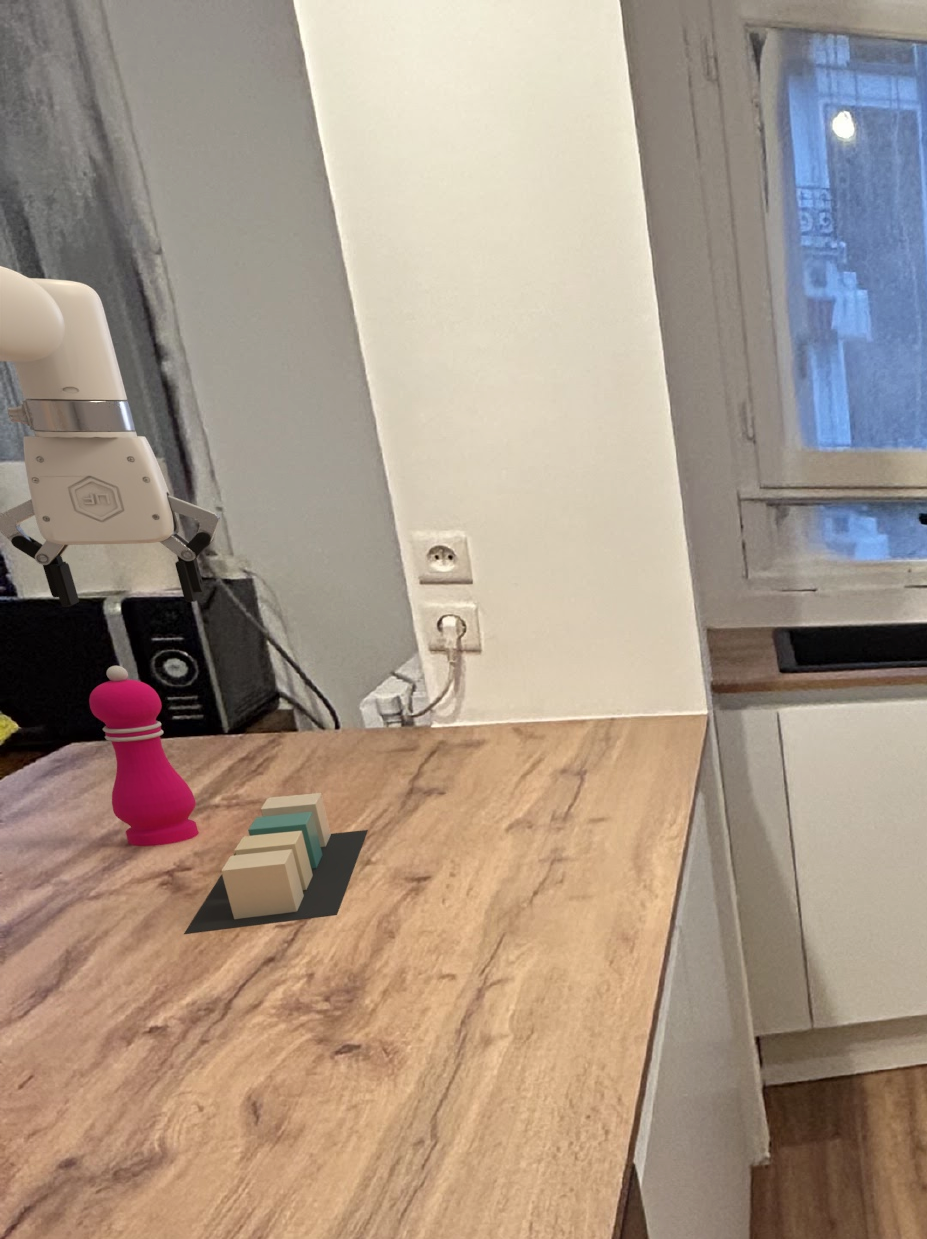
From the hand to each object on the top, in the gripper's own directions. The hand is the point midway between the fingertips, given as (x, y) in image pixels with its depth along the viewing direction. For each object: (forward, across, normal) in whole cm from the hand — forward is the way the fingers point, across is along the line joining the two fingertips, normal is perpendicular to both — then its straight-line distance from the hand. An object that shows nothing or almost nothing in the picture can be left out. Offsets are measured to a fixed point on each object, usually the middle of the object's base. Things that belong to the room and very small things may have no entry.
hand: (132, 602), depth 135 cm
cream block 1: (+28, +8, +5) cm, 29 cm away
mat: (+28, +8, -8) cm, 30 cm away
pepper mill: (+28, -6, +14) cm, 32 cm away
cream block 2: (+28, +8, -11) cm, 31 cm away
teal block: (+28, +8, -3) cm, 29 cm away
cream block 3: (+28, +8, -18) cm, 34 cm away
